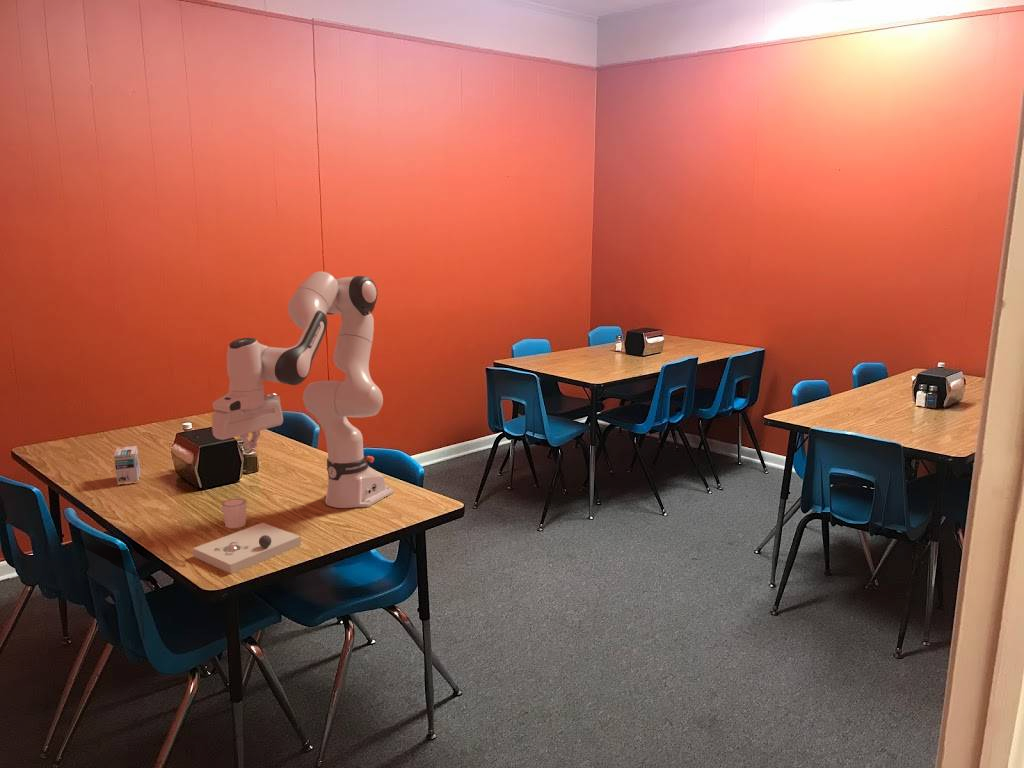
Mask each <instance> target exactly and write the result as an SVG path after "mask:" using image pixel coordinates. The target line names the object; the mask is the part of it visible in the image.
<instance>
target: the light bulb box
mask: <svg viewBox="0 0 1024 768" xmlns="http://www.w3.org/2000/svg"><path fill="white" fill-rule="evenodd" d="M113 458H114V459H113V460H114V467H115V468H114V469H115V475H116V482H117V483H125V482H136V481H138V480H139V481H140V479H139V476H140V477H141V475H140V474H141V468H140V467H141V466H140V459H139V450H138V445H132V446H121V447H120V446H118V447H116V449H115V452H114V455H113Z"/></svg>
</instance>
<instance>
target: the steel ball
mask: <svg viewBox="0 0 1024 768" xmlns="http://www.w3.org/2000/svg"><path fill="white" fill-rule="evenodd" d="M237 550H239V549H238V547H237V546H234V545H232V546H229V547H228V548H227V550H226V552H235V551H237Z"/></svg>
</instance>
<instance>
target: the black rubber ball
mask: <svg viewBox="0 0 1024 768" xmlns="http://www.w3.org/2000/svg"><path fill="white" fill-rule="evenodd" d="M259 544H260V546H261V547H268V546H269V545H270V544H271V538H270V537H269V536H267V535H264V536H262V537H261V538H260V539H259Z"/></svg>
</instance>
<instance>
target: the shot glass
mask: <svg viewBox="0 0 1024 768" xmlns="http://www.w3.org/2000/svg"><path fill="white" fill-rule="evenodd" d="M221 508H222V513H223V519H224V525H225V527H226V528H227V527H228V529H239V528H242V527H244V526H245V525H246V524H247V523H246V522H247V500H246V499H243V498H231V499H227V500H225V501H223V502H221Z"/></svg>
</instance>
